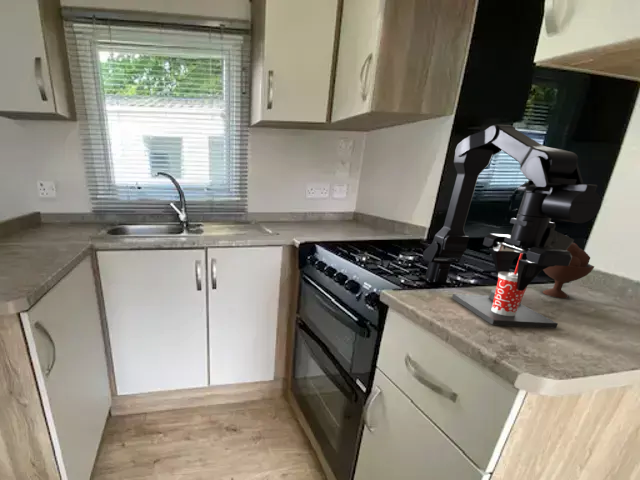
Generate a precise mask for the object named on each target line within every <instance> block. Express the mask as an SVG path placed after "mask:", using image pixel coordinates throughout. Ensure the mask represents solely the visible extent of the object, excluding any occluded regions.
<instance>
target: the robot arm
mask: <svg viewBox="0 0 640 480" xmlns="http://www.w3.org/2000/svg"><path fill="white" fill-rule="evenodd" d="M500 152H503V153H505V154H506V155H508V156H509V157H510V158H512V159H514V160H515V161H516V162H518V163H519V164H520V167H519V170H520V172H521V173H522V175H524V177H525V178H526V179H527V182H525V183H524V184H521V185H520V186H519V187H517V189H516V190H517V192H523V196H522V199H521V202H520V205H519V208H518V211H517V214H516V218H515V217H511V218H510V221H509V224H513V227H512V230H511V233H510V234H508V233H507V234H503V233H489V234H487V235H486V236H485V237H484V239H483V241H482V242H483V243H482V245H483V246H485V247H487V248H488V251H489V252H490V254H491V257H492V260H493V264H494V267H495V273H496V276H497V279H498V278H499V277H498V273H499V272H510V269H511V267H512V265H513V262H514V260H515V259H516V258H517V257H520V253H523V254H524V255H525V257H526V259H519V258H518V260H519V261H518V260H517V263H518V271H517V273H518V278H517V290H519V291H523V290H524V289H525V288H526V287H527V288H528V286H529V285H530V284H531V282H533V281H534V279H535V278H536V277H537V276H538V275H539V274H540V273H541V272H542V271H543V269H546V268H548V267H550V266H552V267H554V266H569V264H570V261H571V259H572V255H571V253H570V252H569V251H566V250H567V249H568V248H569V246H570V245H571V244H572V243H574V241H575V239H574V238H572V237H569V236H568V235H565V234H563V233H561V232H558V231H556V230H555V228H556V223H555V222H554V221H553V222H552V221H551V220H558V221H562V222H568V223H569V222H570V223H574V224H585V223H587V222H590V221H591V220H592V219H593V218H595V217H596V216H597V214H598V213H599V211H600V209H601V207H602V204H601V197H600V194H598V193H597V188H598V185H597V184H586V183H584V181H583V178H582V174H581V172H580V167H579V164H578V160H579V157H578V155H577V154H576V153H575V152H573V151H568V150H565V149H561V148H555V147H549V146H545V145H543V144H541V143H539V141H536V140H535V139H533V138H531V137H529V136H528V135H526V134H524V132H521V131H519V130H518V129H516V127H515V126H513V125H510V124H493V125H490V126H489V127H487V128H486V129H484V130H481V131H478V132H476V133H472V134H470V135H468V136H466V137H464V138H463V139H462V140H461V141H460V142H458V143H457V145H456V147H455V150H454V159H453V165H454V168H455V170H456V178H455V182H454V186H453V189H452V193H451V197H450V201H449V204H448V207H447V208H448V209H447V212H446V215H445V219H444V224H443V227H441V228H440V230H438V232H436V233H435V235H434V237H433V240H432V243H431V244H430V245H429V246H428V247H427V248H425V250H424V251H423V252H422V259H423V260H425V261H426V262H428V265H427V269H426V273H425V275H423V274H421V275H420V278H422V280H424V281H426V282H428V284H429V283H430V284H443V285H444V284H445V285H446V284H447V285H451V284H452V281H450V280H448V278H449V273H450V270H451V269H450V268H451V265H452V264H459V262H460V261H461V259H462V258H463V256H464V254H465V252H466V251H467V247H468V243H469V241H470V237H469V235H466V232H465V230H464V229H465V224H466V221H467V217H468V215H469V210H470V207H471V203H472V200H473V196H474V194H475V189H476V185H477V181H478V179H479V176H480V174H481V173H482V172H483V171H484V170H485V169H486V168H487V167H488V166H489V165H490V162H491V161H492V158H493V156H495V155H498V154H499V153H500ZM527 288H526V289H527Z"/></svg>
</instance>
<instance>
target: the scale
mask: <svg viewBox="0 0 640 480" xmlns="http://www.w3.org/2000/svg"><path fill="white" fill-rule="evenodd" d="M495 292H496V288H494V289H491V290H490V292H489V295H485V294H467V293H466V294H465V293H464V294H463V293H452V296H451V299H453V300H454V301H456V302H457V303H459V304H460V305H462V306H463V307H465V308H466V309H467V310H469V311H471V312H472V313H473V314H475V315H477V316H478V317H479V318H481V319H482V320H483V321H486V322H487V323H488V324H490V325H492V326H505V327H521V328H522V327H524V328H540V329H541V328H542V329H543V328H544V329H557V328H558V324H559V322H557V321H554V320H552V319H550V318H548V317H546V316H545V315H542V314H541V313H539V312H537V311H535V310H533V309H531V308H529V307H528V306H525V305H524V304H522V301H521V302H520V304H519V307H518V309H517V312H516V314H515V315H514V316H505V315H500V314H497V313H495V312H493V311H491V309H492V305H493V300H494V296H495ZM523 297H524V296H523ZM523 297H522V299H523Z"/></svg>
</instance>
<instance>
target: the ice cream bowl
mask: <svg viewBox="0 0 640 480" xmlns="http://www.w3.org/2000/svg"><path fill="white" fill-rule="evenodd" d="M566 251H569V252H570V253H571V255H572V259H571V261H570V264H569V266H554V267H552V266H550V267H548V268H546V269H543V270H542V271H543V272H544V273H545V275H547V276H548V278H550V279H552V280H554V285H553V287H552V288H548V289H544V290H543V291H542V293H543V294H544V295H546V296H549V297H553V298H559V299H567V298H568V297H569V296H568V294H567V293H566V292H564V291H563V290H562V288H563V286H564V284H565V283H568V282H570V283H571V282H574V281H575V282H576V281H577V280H580V279H582V278H584V277H587V276H588V275H589V274H590V273H592V271H593V270H594V268H595V266H594V265H592V264H590V260H591V256H590V255H589V254H588V253H587V252H586V251H585V250H584V249H582V248H580V247H579V246H578V244H577V243H575V242H572V244H571V245H570V246H569V248H568V249H567V250H566Z"/></svg>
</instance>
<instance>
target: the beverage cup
mask: <svg viewBox="0 0 640 480" xmlns="http://www.w3.org/2000/svg"><path fill="white" fill-rule="evenodd" d="M523 255H524V253H520V255H519V256H518V260H517V263H516V266H515V269H514V272H513V271H509V272H499V273H498V277H499V278H498V277H497V282H496V287H495V289H496V292H495V296H494V300H493V305H492V309H491V311H493V312H495V313H497V314H500V315H505V316H514V315H515V314H516V312H517V309H518V307H519V304H521V303H522V300H523V298H522V297H524V295H525V292H526V290H527V288H528V286H527V287H526V288H525V289H524V290H523V291H519V290H517V278H518V261H519V259H521V260H523ZM520 302H521V303H520Z"/></svg>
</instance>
